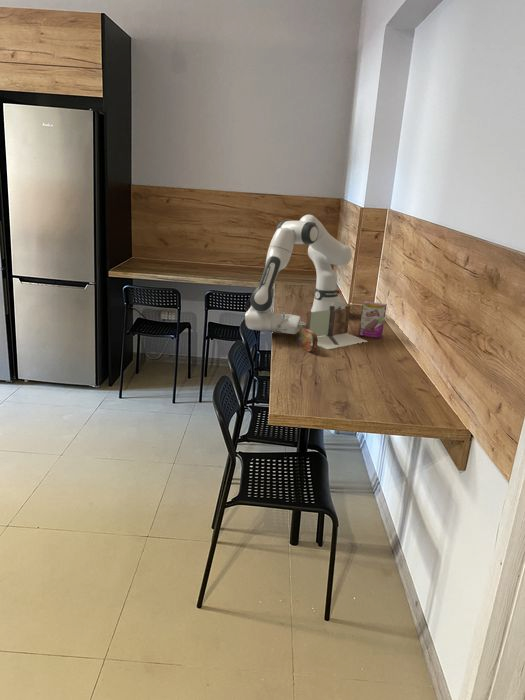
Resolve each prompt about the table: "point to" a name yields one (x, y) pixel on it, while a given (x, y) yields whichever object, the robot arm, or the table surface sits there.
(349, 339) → the card
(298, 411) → the table surface
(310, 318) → the fence panel
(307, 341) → the tin
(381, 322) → the candy bar box
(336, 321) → the fence
